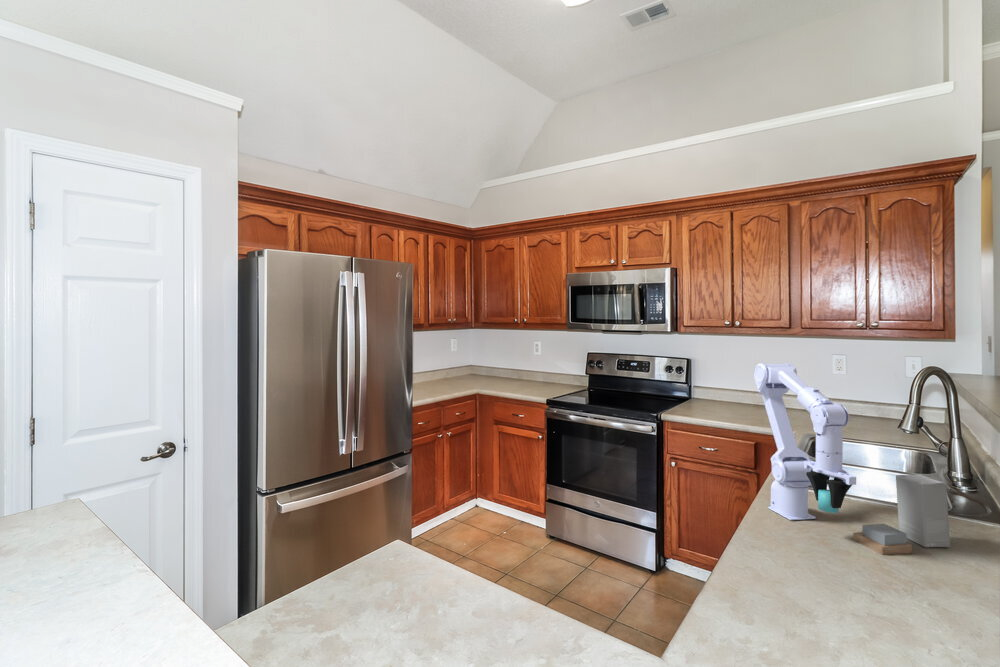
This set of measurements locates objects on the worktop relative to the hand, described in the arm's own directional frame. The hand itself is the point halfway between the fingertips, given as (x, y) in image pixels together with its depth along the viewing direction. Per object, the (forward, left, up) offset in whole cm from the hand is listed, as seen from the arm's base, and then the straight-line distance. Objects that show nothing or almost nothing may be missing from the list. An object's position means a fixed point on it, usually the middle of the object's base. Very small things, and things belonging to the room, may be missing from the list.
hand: (828, 504), depth 126 cm
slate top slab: (+7, +9, -7) cm, 13 cm away
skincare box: (+6, +21, -9) cm, 24 cm away
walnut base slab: (+7, +9, -9) cm, 14 cm away
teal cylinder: (0, 0, -1) cm, 1 cm away
